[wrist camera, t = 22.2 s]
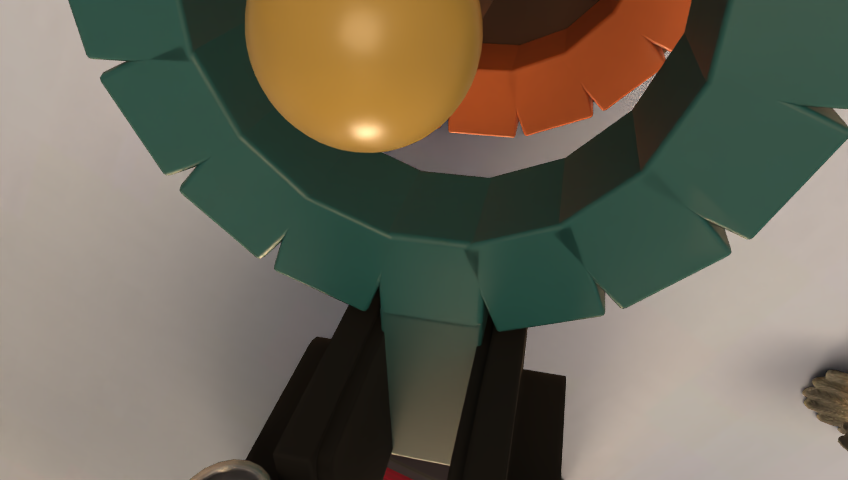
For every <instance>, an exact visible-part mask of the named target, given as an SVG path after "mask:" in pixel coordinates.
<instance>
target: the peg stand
mask: <svg viewBox="0 0 848 480" xmlns="http://www.w3.org/2000/svg"><path fill="white" fill-rule="evenodd" d="M598 1H600V0H247V1H246V9H245V38H246V46H247V51H248V55H249V59H250V63H251V65H252V68H253V71H254V74H255V76H256V78H257V80H258V82H259V84H260V86H261V88H262V90H263V91H264V93H265V94H266V96H267V98H268V99H269V101H270V102H271V103H272V105H273V106H274V107H275V108H276V110H277V111H278V112H279V113H280V114H281V115H282V116H283V117H284V118H285V119H286V120H287V121H288V122H289V123H290V124H292V125H293V126H294V127H295V128H297V129H298V130H299V131H301V132H302V133H304V134H305V135H307V136H308V137H310V138H312V139H314V140H316V141H318V142H320V143H322V144H325V145H327V146H330V147H333V148H336V149H340V150H344V151H350V152H360V153H377V152H386V151H391V150H395V149H399V148H402V147H405V146H407V145H410V144H412V143H415V142H417V141H419V140H421V139H423V138H424V137H426V136H428V135H429V134H430V133H432V132H433V131H434V130H436V129H437V128H438V127H440V126H441V125H442V124H443V123H444V122H445V121H446V120H447V119H448V118H449V117H450V116H451V115H452V114H453V113H454V112H455V110H456V109H457V108H458V106H459V105H460V104H461V102H462V101H463V99H464V98H465V96H466V94H467V92H468V91H469V89H470V87H471V85H472V82H473V80H474V77H475V75H476V72H477V68H478V64H479V60H480V56H481V51H482V43H487V44H507V45H522V44H524V43H527V42H530V41H533V40H536V39H538V38H541V37H544V36H547V35H550V34H553V33H555V32H558V31H561V30H564V29H567V28H568V27H569V26H570V25H572V24H573V23H574V22H575V21H576V20H577V19H579V18H580V17H581V16H582V15H583V14H584V13H586V12H587V11H588V10H589V9H590V8H591V7H593V6H594V5H595V4H596V3H597V2H598ZM662 50H663V53H665V52H666V51H667V50H665V49H663V48H662ZM593 102H595V101H594V100H593Z"/></svg>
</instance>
